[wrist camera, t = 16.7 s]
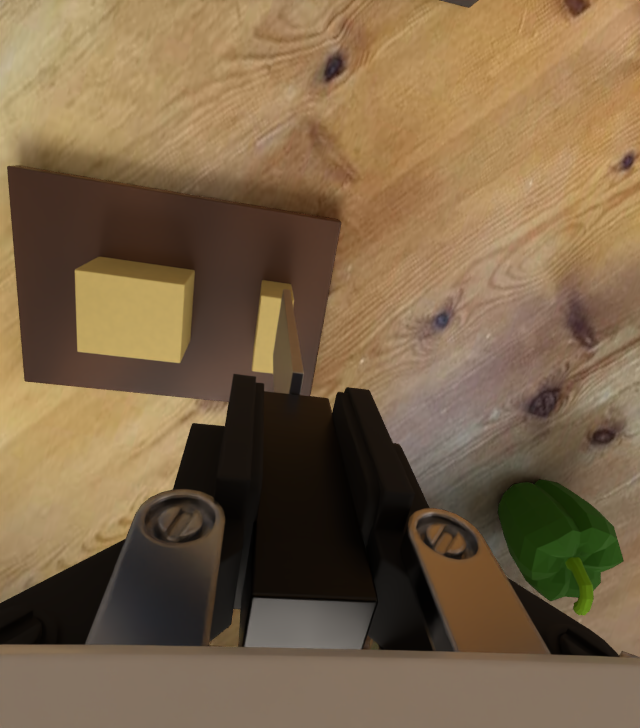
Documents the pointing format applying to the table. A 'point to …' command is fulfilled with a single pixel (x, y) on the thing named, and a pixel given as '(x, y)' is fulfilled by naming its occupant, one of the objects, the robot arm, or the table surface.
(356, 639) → the knife
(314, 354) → the board
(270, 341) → the butter slice
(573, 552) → the bell pepper
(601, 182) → the table surface
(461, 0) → the knife block
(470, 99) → the table surface
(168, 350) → the butter
